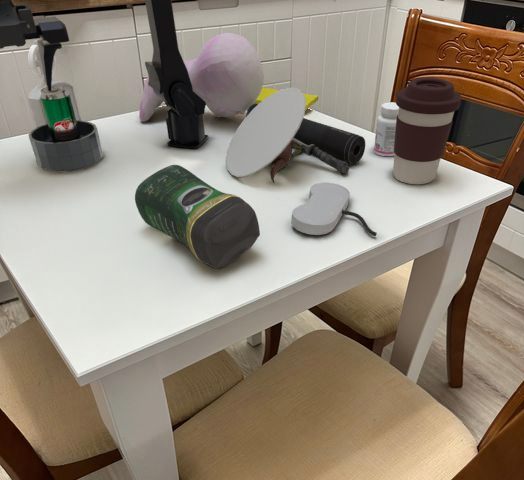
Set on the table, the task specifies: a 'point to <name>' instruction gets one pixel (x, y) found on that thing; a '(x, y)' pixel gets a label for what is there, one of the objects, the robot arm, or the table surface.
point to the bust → (219, 77)
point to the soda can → (59, 114)
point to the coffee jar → (197, 215)
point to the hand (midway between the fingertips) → (21, 95)
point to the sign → (267, 91)
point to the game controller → (324, 210)
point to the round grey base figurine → (267, 134)
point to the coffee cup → (423, 128)
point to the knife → (323, 156)
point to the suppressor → (329, 140)
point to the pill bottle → (386, 129)
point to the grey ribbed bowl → (66, 148)
